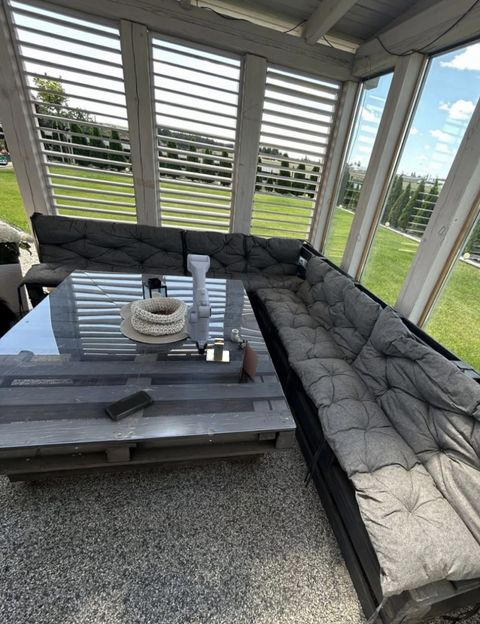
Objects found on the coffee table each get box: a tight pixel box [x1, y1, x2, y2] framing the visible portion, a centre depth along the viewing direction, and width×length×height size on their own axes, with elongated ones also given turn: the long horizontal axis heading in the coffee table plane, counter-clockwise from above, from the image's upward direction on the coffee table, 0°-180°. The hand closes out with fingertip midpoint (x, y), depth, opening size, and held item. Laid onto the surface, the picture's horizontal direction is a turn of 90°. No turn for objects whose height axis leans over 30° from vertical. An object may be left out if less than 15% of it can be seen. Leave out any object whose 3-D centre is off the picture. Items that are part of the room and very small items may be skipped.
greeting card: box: [239, 342, 260, 381], centre depth 132 cm, size 11×7×15 cm, turn 178°
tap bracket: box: [206, 337, 230, 363], centre depth 142 cm, size 11×9×10 cm
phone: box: [104, 390, 153, 421], centre depth 110 cm, size 8×1×15 cm
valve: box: [230, 328, 250, 351], centre depth 155 cm, size 7×7×12 cm
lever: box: [205, 340, 222, 351], centre depth 141 cm, size 12×3×3 cm, turn 97°
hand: (201, 352), depth 142 cm, fingers open, 4 cm apart
